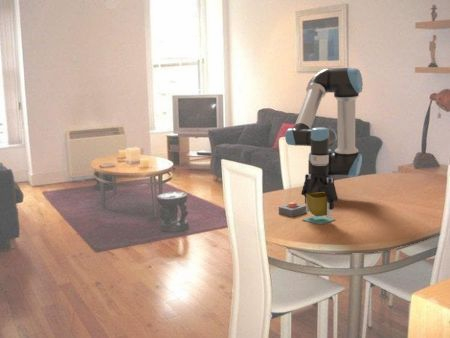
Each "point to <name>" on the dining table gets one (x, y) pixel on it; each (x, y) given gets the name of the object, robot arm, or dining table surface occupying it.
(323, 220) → the pad
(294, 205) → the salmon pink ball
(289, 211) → the housing
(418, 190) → the dining table surface
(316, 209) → the flower pot
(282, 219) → the dining table surface
